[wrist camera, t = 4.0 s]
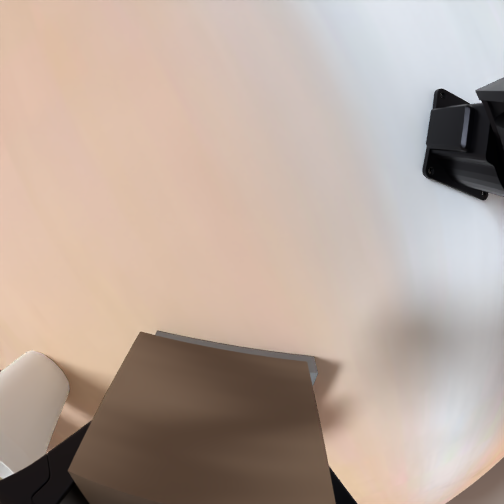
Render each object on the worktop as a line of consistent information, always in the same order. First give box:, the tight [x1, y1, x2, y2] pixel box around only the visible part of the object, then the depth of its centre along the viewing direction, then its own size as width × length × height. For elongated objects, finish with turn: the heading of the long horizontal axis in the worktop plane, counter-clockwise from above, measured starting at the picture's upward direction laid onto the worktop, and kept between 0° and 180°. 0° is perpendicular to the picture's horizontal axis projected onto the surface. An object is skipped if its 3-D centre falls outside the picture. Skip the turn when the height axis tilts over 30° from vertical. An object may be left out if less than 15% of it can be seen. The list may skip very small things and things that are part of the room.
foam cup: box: [0, 350, 70, 479], centre depth 18 cm, size 10×9×13 cm
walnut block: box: [68, 332, 336, 504], centre depth 7 cm, size 5×5×5 cm
